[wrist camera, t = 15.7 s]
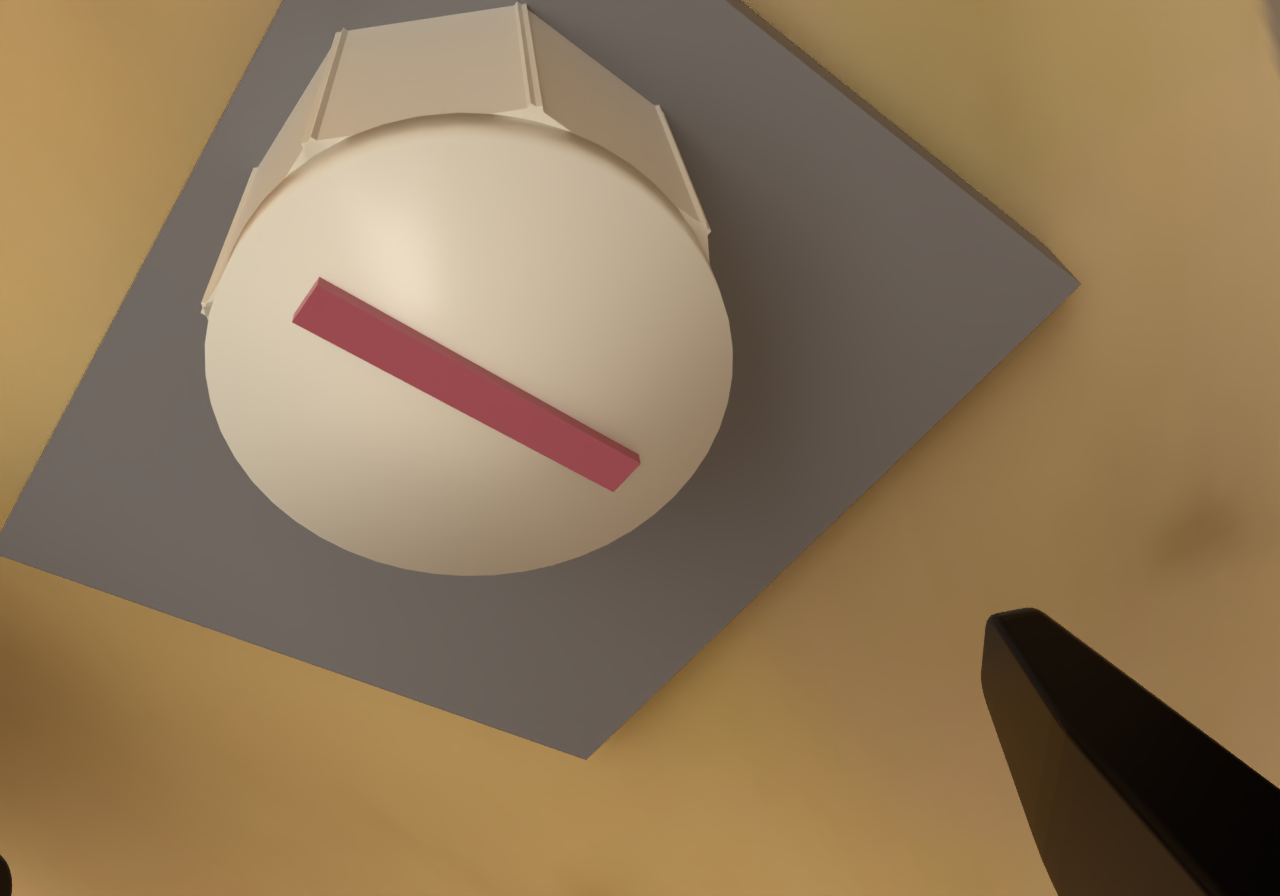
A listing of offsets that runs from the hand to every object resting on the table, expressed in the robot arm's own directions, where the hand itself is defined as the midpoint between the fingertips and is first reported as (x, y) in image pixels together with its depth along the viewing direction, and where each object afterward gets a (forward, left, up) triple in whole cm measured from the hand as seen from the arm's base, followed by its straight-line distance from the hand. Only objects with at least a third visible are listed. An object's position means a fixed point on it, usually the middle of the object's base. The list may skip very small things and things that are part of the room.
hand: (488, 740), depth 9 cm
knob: (0, 0, -10) cm, 10 cm away
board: (-3, -3, -12) cm, 13 cm away
